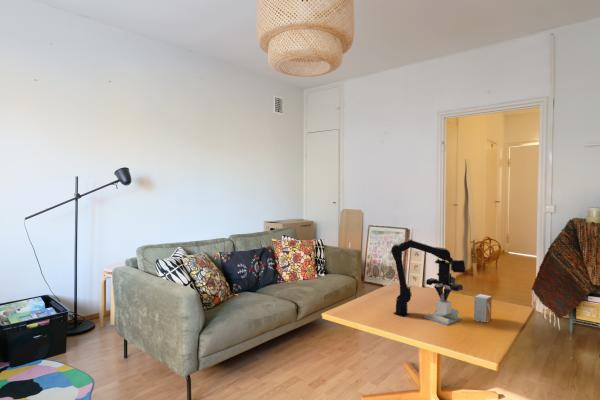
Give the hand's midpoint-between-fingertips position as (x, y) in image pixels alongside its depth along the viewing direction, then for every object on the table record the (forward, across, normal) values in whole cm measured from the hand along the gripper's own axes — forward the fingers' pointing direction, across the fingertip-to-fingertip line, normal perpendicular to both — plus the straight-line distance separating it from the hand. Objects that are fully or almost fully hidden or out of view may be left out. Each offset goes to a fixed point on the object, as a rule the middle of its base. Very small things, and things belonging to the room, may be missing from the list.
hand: (443, 300), depth 195 cm
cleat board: (+10, 0, +1) cm, 10 cm away
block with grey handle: (+7, 0, 0) cm, 7 cm away
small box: (+10, -14, -15) cm, 23 cm away
